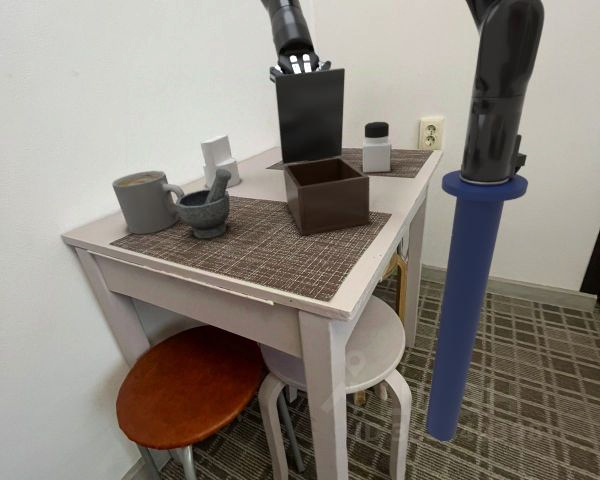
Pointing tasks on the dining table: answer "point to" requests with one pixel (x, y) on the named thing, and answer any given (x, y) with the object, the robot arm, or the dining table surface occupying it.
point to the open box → (326, 195)
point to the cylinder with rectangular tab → (219, 159)
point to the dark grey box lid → (310, 114)
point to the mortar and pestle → (207, 207)
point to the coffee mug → (147, 201)
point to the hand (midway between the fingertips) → (309, 107)
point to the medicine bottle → (376, 148)
